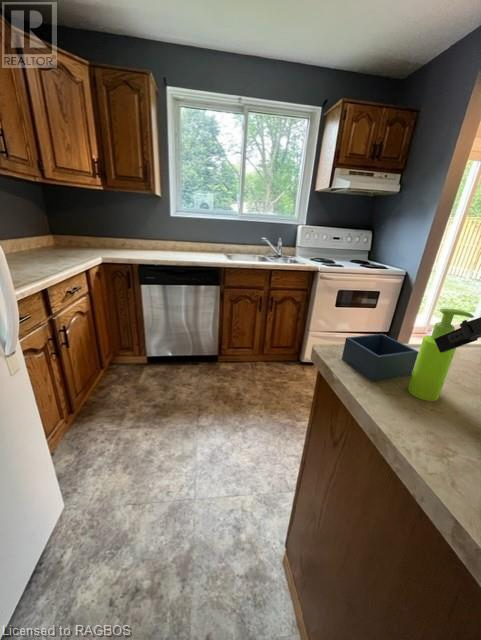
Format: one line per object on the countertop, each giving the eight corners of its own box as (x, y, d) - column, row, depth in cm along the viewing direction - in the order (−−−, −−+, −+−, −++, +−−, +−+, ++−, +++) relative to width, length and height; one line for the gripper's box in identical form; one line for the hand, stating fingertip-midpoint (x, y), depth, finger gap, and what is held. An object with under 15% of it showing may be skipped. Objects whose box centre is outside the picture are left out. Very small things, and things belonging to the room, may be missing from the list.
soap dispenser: (447, 405, 58) (480, 317, 51) (410, 397, 60) (437, 311, 53) (439, 390, 63) (467, 308, 56) (405, 383, 65) (429, 304, 58)
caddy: (377, 354, 80) (382, 333, 77) (411, 374, 69) (418, 351, 67) (341, 359, 76) (345, 337, 73) (372, 381, 65) (378, 357, 63)
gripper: (582, 316, 29) (422, 367, 48) (705, 308, 35) (521, 356, 54) (541, 259, 32) (406, 328, 51) (661, 261, 38) (502, 322, 57)
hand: (465, 343), depth 52 cm, fingers open, 13 cm apart
